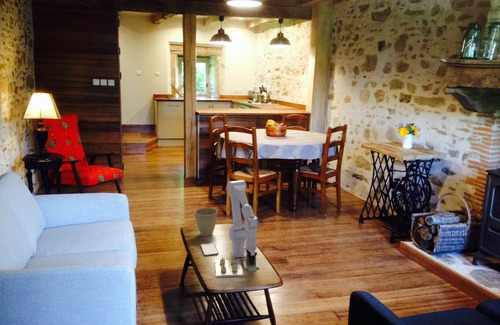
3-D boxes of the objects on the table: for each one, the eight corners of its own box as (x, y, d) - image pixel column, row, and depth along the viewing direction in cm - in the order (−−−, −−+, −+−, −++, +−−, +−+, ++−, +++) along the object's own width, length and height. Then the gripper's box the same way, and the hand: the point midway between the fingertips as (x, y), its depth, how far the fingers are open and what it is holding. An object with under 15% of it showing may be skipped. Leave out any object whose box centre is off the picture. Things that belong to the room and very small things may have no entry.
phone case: (218, 256, 244) (214, 245, 259) (218, 253, 243) (214, 242, 259) (203, 257, 242) (199, 246, 257) (203, 255, 241) (199, 244, 256)
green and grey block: (242, 262, 234) (242, 252, 233) (256, 261, 235) (257, 252, 234) (244, 271, 224) (244, 261, 222) (259, 270, 225) (259, 260, 223)
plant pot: (193, 231, 280) (193, 208, 277) (215, 229, 284) (215, 207, 281) (196, 239, 266) (196, 215, 263) (219, 237, 270) (219, 214, 267)
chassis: (215, 262, 234) (214, 254, 233) (239, 261, 236) (239, 253, 235) (216, 277, 216) (216, 269, 216) (243, 276, 218) (243, 268, 217)
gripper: (242, 234, 233) (242, 256, 236) (245, 244, 219) (245, 268, 221) (255, 233, 234) (254, 256, 236) (258, 243, 219) (258, 267, 222)
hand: (251, 262), depth 229 cm, fingers closed on green and grey block, 4 cm apart
